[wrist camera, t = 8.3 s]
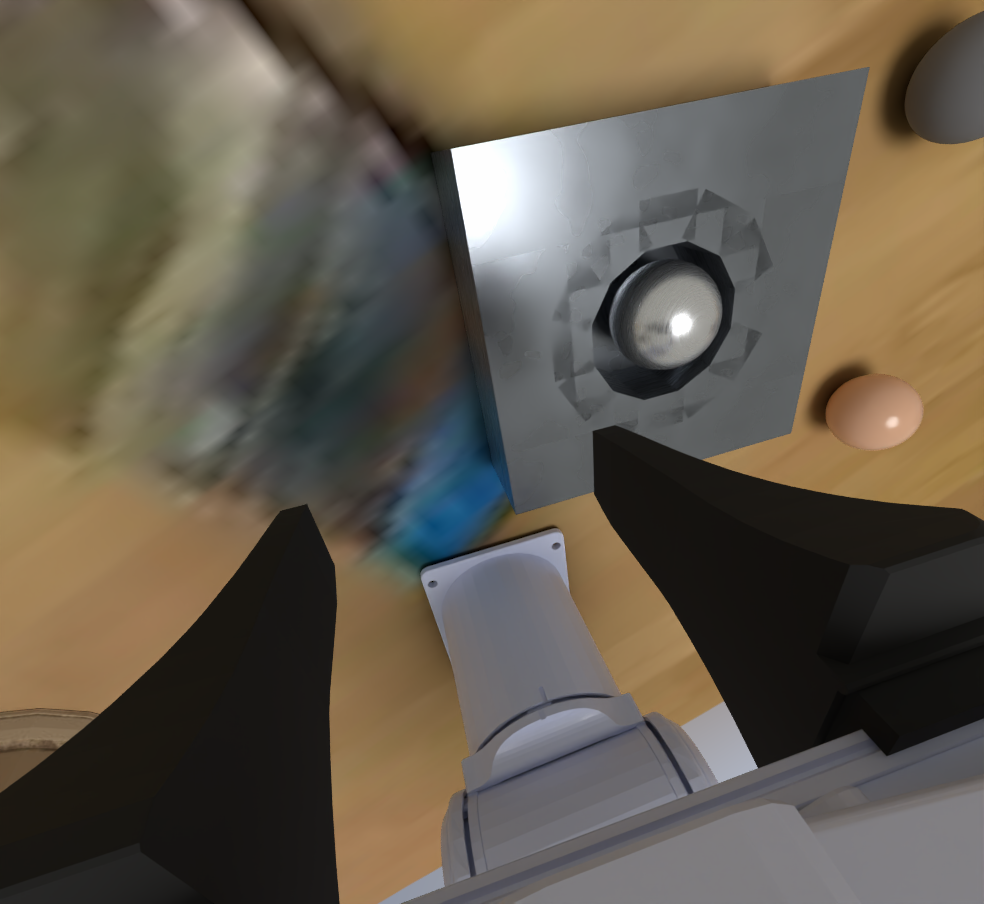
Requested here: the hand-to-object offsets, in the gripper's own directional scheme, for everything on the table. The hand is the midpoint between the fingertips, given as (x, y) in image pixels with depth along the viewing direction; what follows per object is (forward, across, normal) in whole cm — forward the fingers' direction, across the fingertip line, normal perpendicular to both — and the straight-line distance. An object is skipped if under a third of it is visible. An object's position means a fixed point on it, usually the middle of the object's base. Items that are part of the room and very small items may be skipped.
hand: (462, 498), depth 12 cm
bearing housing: (+9, -9, -1) cm, 13 cm away
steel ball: (+6, -9, -1) cm, 11 cm away
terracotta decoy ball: (+7, -22, +7) cm, 25 cm away
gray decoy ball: (+7, -22, -7) cm, 24 cm away
